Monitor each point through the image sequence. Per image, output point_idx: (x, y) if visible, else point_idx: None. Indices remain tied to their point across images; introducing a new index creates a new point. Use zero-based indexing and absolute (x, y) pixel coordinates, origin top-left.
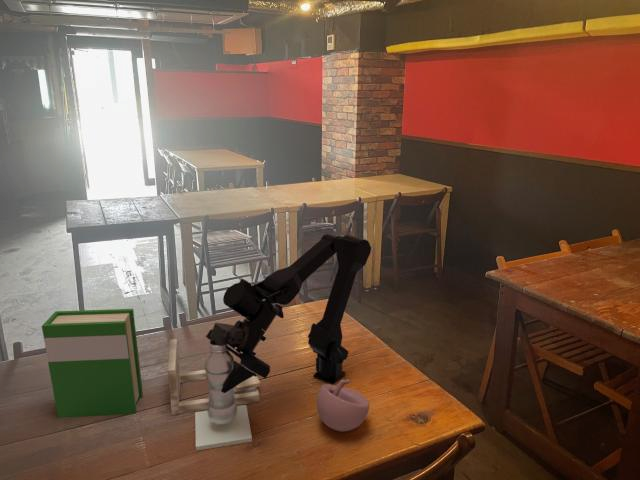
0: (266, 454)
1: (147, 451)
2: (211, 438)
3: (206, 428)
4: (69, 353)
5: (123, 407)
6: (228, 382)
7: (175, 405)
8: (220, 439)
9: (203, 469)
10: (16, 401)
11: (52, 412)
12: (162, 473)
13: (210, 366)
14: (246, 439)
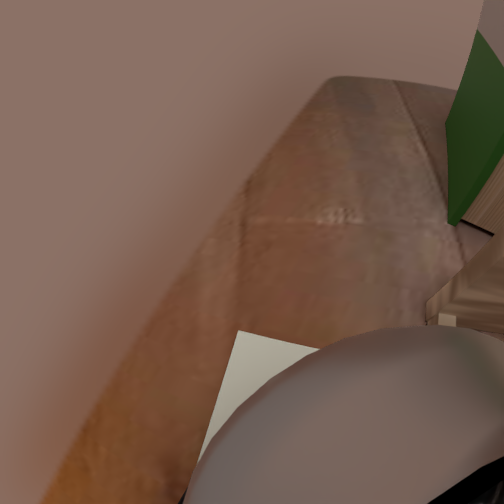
0: (125, 489)
1: (300, 224)
2: (251, 384)
3: None
4: (489, 25)
5: (455, 191)
6: (180, 502)
7: (439, 302)
8: (231, 408)
9: (160, 330)
10: None
11: None
12: (205, 241)
13: (297, 374)
14: None
